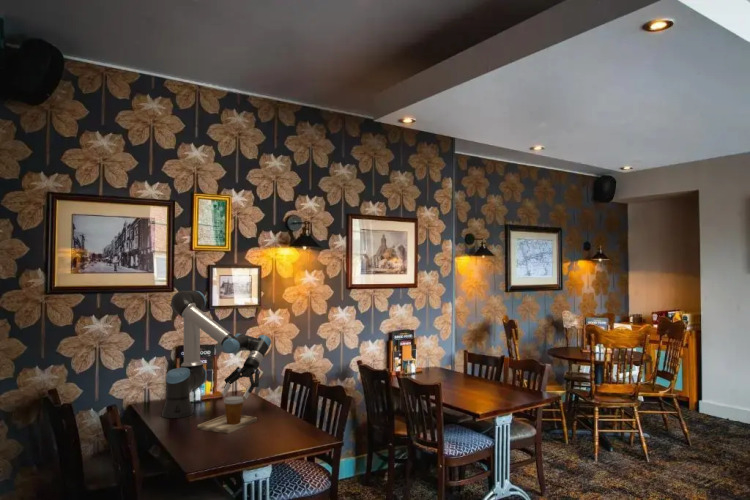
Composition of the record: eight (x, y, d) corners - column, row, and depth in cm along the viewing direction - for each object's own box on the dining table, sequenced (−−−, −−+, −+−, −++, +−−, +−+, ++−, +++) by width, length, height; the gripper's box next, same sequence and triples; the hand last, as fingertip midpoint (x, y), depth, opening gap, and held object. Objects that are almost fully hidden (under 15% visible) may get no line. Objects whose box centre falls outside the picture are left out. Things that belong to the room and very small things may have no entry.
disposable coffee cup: (247, 421, 252) (248, 396, 253) (234, 426, 243) (235, 400, 244) (232, 419, 256) (232, 395, 257) (219, 424, 247) (219, 399, 248)
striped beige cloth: (197, 429, 243) (197, 424, 244) (227, 417, 264) (227, 413, 264) (227, 433, 236) (228, 429, 236) (256, 421, 257) (256, 417, 257)
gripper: (231, 355, 272) (210, 389, 258) (269, 358, 262) (251, 394, 248) (237, 363, 277) (217, 398, 262) (275, 367, 267) (257, 403, 252)
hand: (233, 396), depth 255 cm, fingers open, 13 cm apart
